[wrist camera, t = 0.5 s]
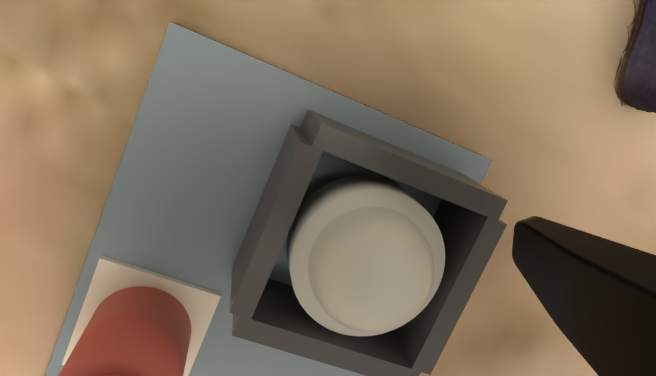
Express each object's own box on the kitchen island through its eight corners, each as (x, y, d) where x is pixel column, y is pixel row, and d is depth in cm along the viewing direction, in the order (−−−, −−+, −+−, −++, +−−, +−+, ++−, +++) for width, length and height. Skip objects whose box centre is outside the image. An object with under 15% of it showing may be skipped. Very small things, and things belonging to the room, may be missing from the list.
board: (480, 154, 24) (494, 161, 22) (264, 597, 28) (265, 626, 27) (174, 22, 20) (168, 21, 19) (-12, 547, 25) (-28, 577, 24)
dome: (450, 205, 21) (501, 246, 17) (391, 327, 22) (425, 394, 18) (320, 153, 20) (340, 183, 15) (264, 285, 21) (268, 347, 16)
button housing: (471, 177, 23) (516, 204, 19) (393, 336, 24) (421, 392, 20) (298, 105, 21) (310, 119, 17) (225, 283, 22) (221, 332, 18)
